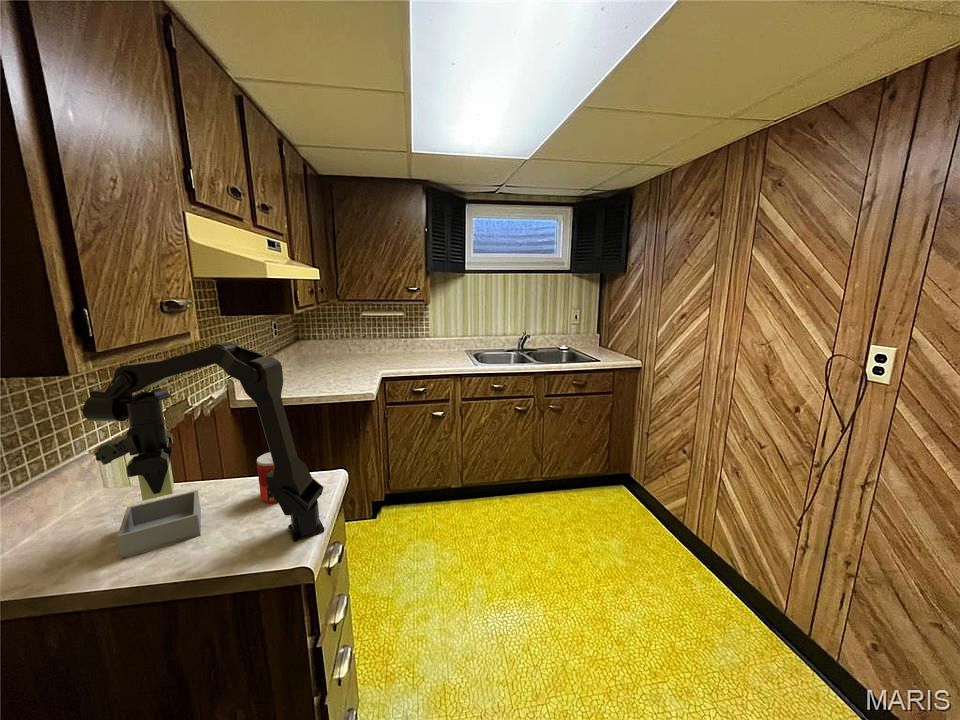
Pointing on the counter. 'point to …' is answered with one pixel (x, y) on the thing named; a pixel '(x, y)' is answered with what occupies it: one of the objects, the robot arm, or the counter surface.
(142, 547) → the grey bin
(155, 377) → the robot arm
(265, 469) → the canned food
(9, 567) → the counter surface
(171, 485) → the green block
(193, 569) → the counter surface
